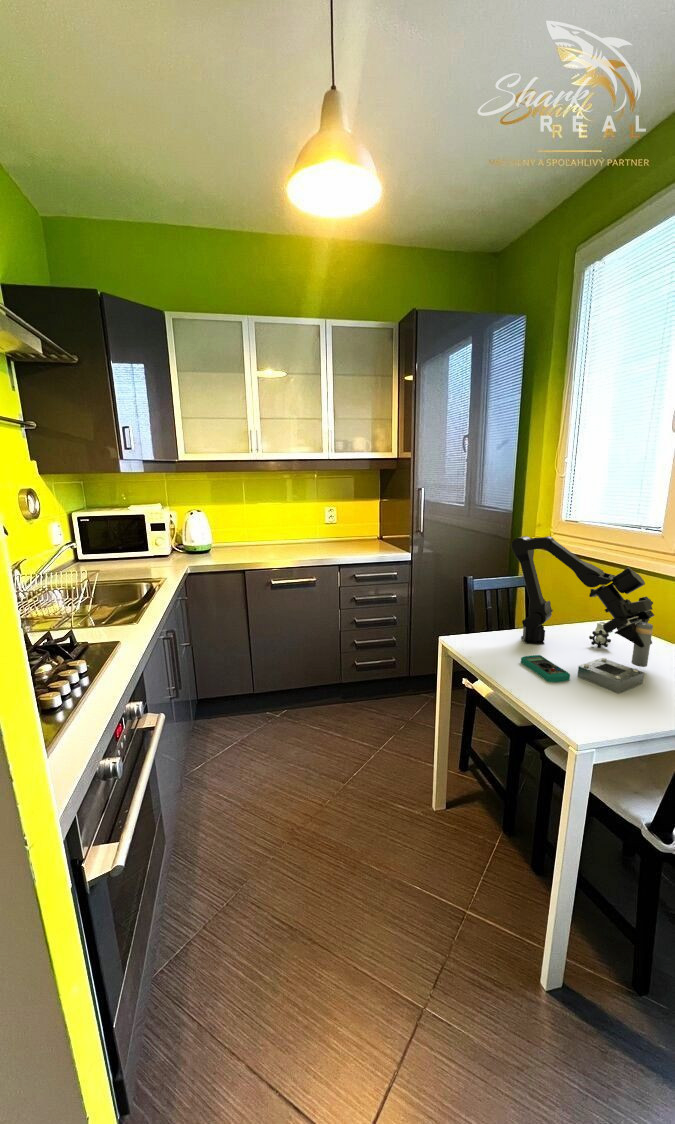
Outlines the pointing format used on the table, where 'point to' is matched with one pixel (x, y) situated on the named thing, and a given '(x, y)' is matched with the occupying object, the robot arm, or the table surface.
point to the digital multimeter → (545, 668)
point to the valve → (600, 635)
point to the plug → (645, 634)
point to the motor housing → (610, 675)
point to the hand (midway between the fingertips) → (646, 645)
